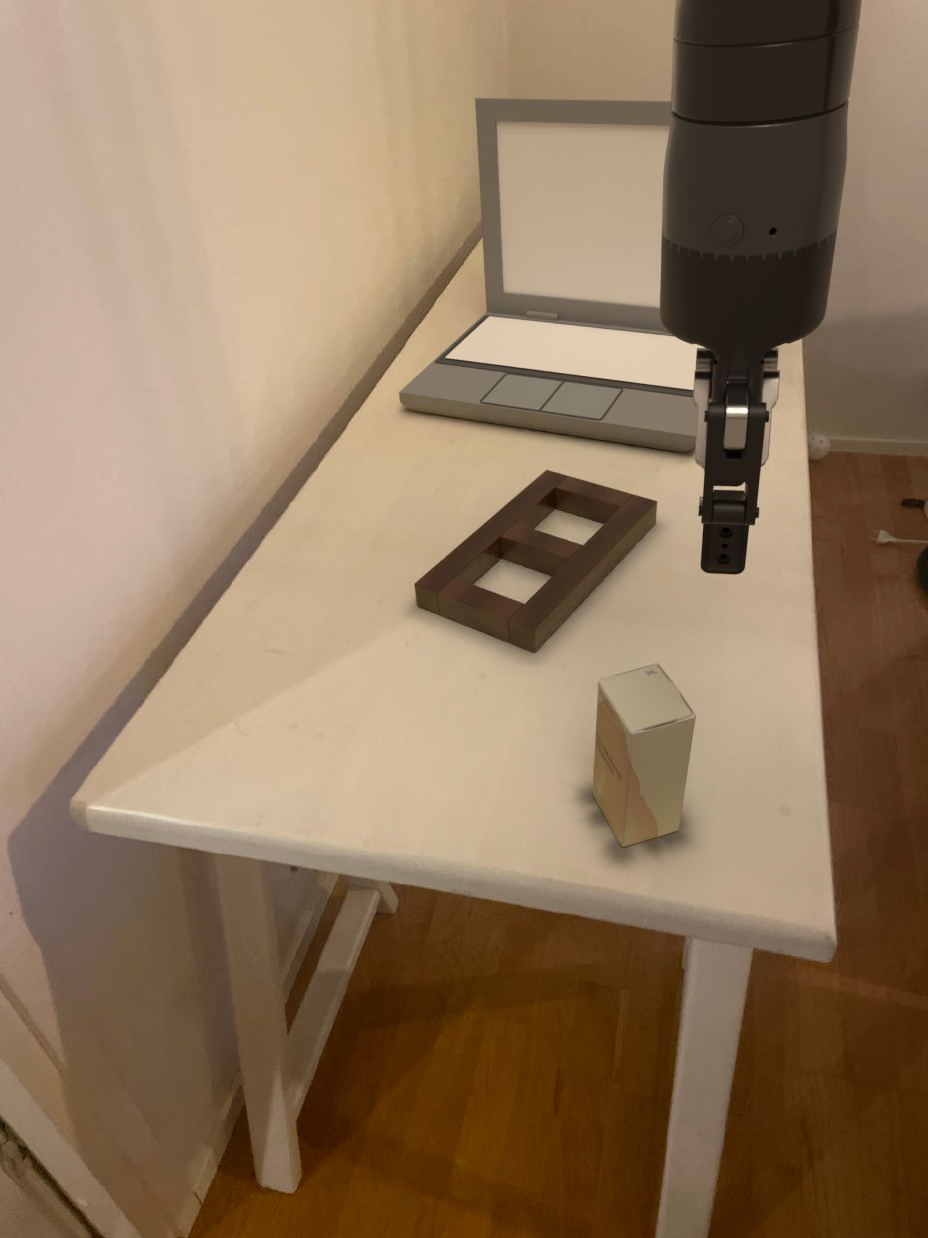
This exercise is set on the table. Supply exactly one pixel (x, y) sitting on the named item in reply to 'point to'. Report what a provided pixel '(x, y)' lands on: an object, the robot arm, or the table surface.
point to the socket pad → (536, 558)
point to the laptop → (570, 280)
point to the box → (641, 753)
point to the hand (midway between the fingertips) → (723, 523)
